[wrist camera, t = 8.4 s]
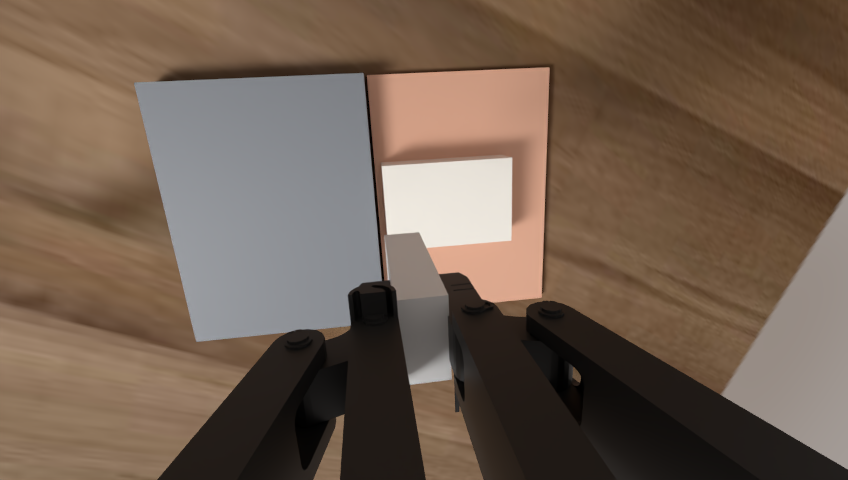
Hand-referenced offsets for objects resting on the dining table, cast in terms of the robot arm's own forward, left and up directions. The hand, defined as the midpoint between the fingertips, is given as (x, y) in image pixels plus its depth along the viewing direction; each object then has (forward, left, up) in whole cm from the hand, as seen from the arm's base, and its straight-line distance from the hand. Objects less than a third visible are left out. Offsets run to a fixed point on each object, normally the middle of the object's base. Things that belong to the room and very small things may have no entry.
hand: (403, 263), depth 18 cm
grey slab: (-8, 0, -14) cm, 16 cm away
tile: (+4, 0, -14) cm, 14 cm away
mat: (+5, 0, -14) cm, 15 cm away
